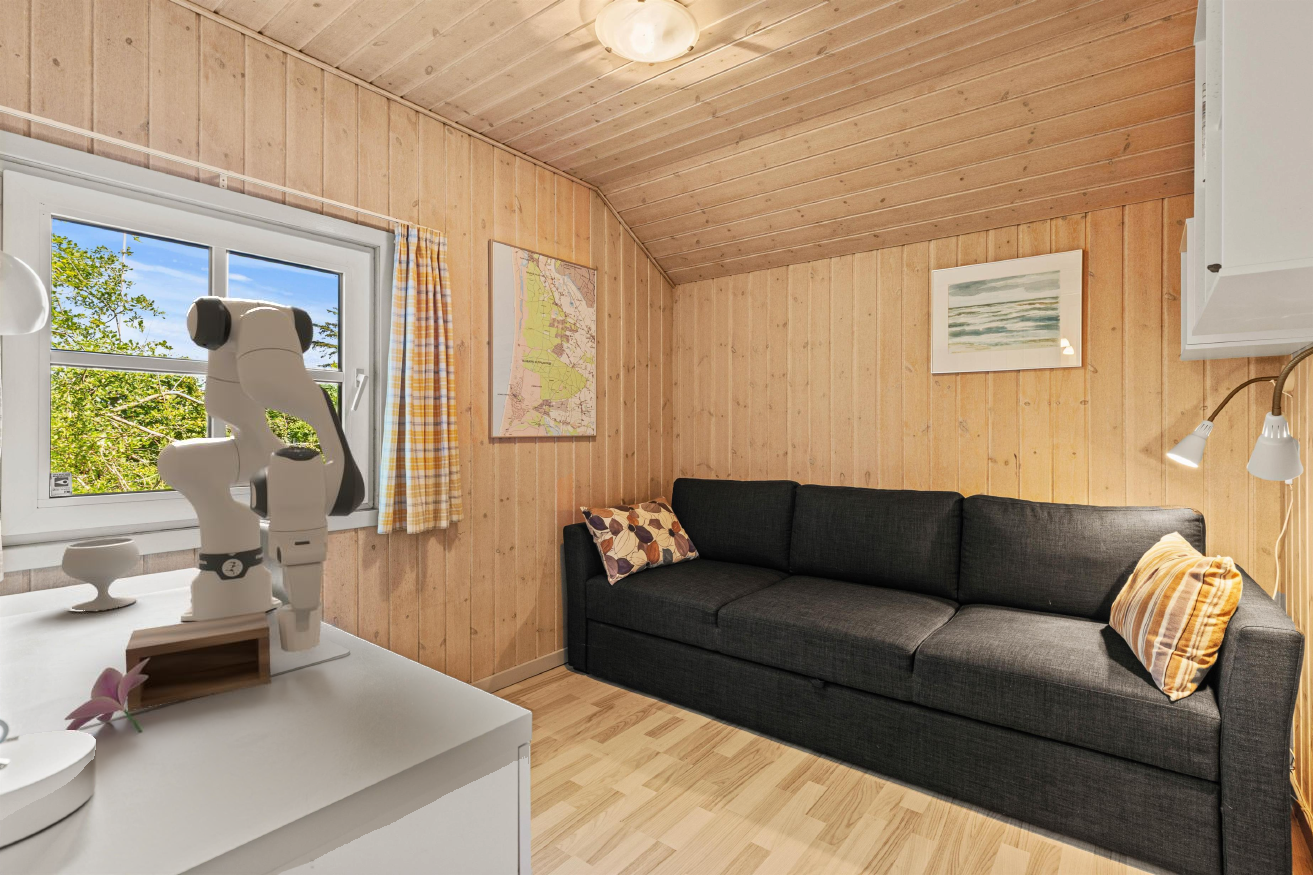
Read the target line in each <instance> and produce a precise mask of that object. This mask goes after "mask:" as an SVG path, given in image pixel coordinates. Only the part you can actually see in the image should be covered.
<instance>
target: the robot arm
mask: <svg viewBox="0 0 1313 875" xmlns="http://www.w3.org/2000/svg"><path fill="white" fill-rule="evenodd" d="M312 320H313V319H312V318H311V316H310V315H309V313H308V312H307V311H306V310H304V309H301V308H300V307H295V306H292V305H288V306H286V305H283V304H278V303H275V302H269V301H265V300H258V299H253V300H252V299H243V298H230V297H224V298H223V297H219V296H217V295H216V296H215V295H214V296H211V295H207V296H199V297H198V298H197V299H195V300H194V301H193V302H192V303H191V306H190V308H189V310H188V313H187V315H186V328H187V331H188V333H189V336H190V340H191V341H192V342H193V343H194V344H195V345H196V346H197V347H200V348H203V349H206V350H210V351H209V355H208V359H207V360H208V361H207V367H206V368H207V369H206V376H205V386H204V398H203V400H204V401H203V407H204V410H205V412H206V413H207V415H208V416H210V417H211V418H212V419H213V420H216V421H217V422H219V423H222V424H224V425H226V426H229V427H230V429H231V430H230V432H231V433H230V436H228V437H203V438H201V437H200V438H199V437H198V438H190V439H184V440H179V441H174V442H170V443H168V444H166V445H165V447H164V448H163V449H162V450H161V451H160V453H159V455H158V457H157V462H156V468H157V472H158V475H159V477H160V479H161V480H162V481H163V483H164V484H165V485H166V486H168V487H169V488H171V489H174V490H175V491H177V492H178V493H179V494H181V495H182V496H183V497H184V498H186V500H187V501H188V502H189V503H190V505H191V506H192V508H193V509H194V511H195V513H196V516H197V519H198V525H199V533H200V534H199V535H200V549H201V550H200V552H199V554H198V561H197V562H198V569H199V570H200V571H199V573H198V574H197V575H196V576H195V577H194V578H193V579H192V580H191V584H190V586H189V587H190V594H191V598H190V604H191V606H190V607H189V608H188V609H187V610H186V611H184V612H183V613H182V614H181V616H180V621H185V622H186V621H187V622H188V621H189V622H196V621H203V620H209V619H216V618H223V617H230V616H236V615H243V614H250V613H257V612H263V611H265V613H266V612H267V611H270V610H273V609H277V607H278V606H281V605H283V602H282V601H281V600H280V599H279V598H276V597H275V596H273V586H272V585H273V582H272V572H271V571H270V570H269V569H268V568H266V567H265V566H264V564H263V562H264V555H265V554H264V551H263V546H261V525H260V524H261V522H260V520H261V519H260V518H263V519H266V520H267V519H268V520H269V523H268V526H267V532H268V534H267V536H268V539H267V540H268V541H267V542H268V543H267V544H268V545H267V546H268V557H269V559H273V560H275V561H277V567H279V568H281V569H282V585H283V589H284V591H285V593H286V597H287V598H288V601H289V602H288V603H290V604H291V607H292V609H293V612H294V613H295V614H296V630H297V632H304V631H307V630H308V629H309V616H310V611H314V610H317V609H318V607H319V602H320V601H321V593H322V582H323V580H322V579H323V562H326V561H327V553H328V552H329V531H328V530H329V527H328V525H329V524H328V519H327V517H348V516H349V515H352V514H353V513H354V512H355V511H356V510H357V509H358V508H359V507H360V506H361V505H362V503H364V501H365V497H366V486H365V481H364V478H363V475H362V473H361V470H360V468H359V466H358V464H357V463H356V461H355V459H354V456H353V454H352V451H351V449H350V448H351V447H350V446H349V443H348V440H347V437H346V435H345V432H344V429H343V426H342V423H341V420H340V417H339V415H338V413H337V410H336V407H335V405H334V402H333V400H332V397H331V396H330V393H329V391H328V390H327V389H326V388H325V387H323V386H321V385H320V384H318V383H317V382H316V381H315V380H314V379H313V378H312V377H311V375H310V374H309V373H308V370H307V368H306V366H305V359H304V354H305V353H306V352H308V351H309V349H310V348H311V346H312V342H313V339H314V325H313V321H312ZM266 409H267V410H271V411H275V412H277V413H281V414H283V415H284V414H285V415H287V416H290V417H294V418H296V419H298V420H300V421H302V422H305V423H306V424H308V426H310V427H311V428H312V429H313V430H314V432H315V435H316V438H317V440H318V443H319V446H320V449H321V451H319V450H316V449H314V448H312V447H311V448H310V447H309V448H308V447H304V446H303V447H302V446H301V447H300V446H293V447H291V446H289V445H288V444H287V443H286V442H285V441H283V440H282V439H280V438H279V436H277V435H276V434H275V433H274V432H273V430H272V429H271V426H270V424H269V423H268V420H267V419H268V418H267V415H266ZM321 452H322V453H321ZM322 454H323V455H322ZM323 457H324V459H323ZM324 460H325V463H324ZM246 486H247V487H248V486H249V487H250V488H249V489H250V490H249V491H250V503H249V504H250V505H248V504H245V503H242V502H240V501H237V500H234V498H233V496H232V494H231V488H233V487H234V488H235V487H246Z"/></svg>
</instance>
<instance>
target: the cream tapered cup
mask: <svg viewBox="0 0 1313 875" xmlns="http://www.w3.org/2000/svg"><path fill="white" fill-rule="evenodd" d="M322 612H323V601H321V600H320V602H319V607H318V609H317V610H314V611H310V616H309V629H308V630H307V631H304V632H297V630H296V614H295V613H294V612H293V609H292V607H291V604H290V602H286V603H282V605H281V606H278V607H277V608H276V615H277V623H278V624H277V625H278V630H279V638H280V646H281V648H280V649H281V650H282V651H283V652H289V653H290V652H292V653H296V652H303V651H307V650H312V649H313V648H316V647H317V646H319V644H320V639H321V638H320V637H321V626H322V614H323V613H322Z"/></svg>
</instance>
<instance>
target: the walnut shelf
mask: <svg viewBox="0 0 1313 875" xmlns="http://www.w3.org/2000/svg"><path fill="white" fill-rule="evenodd" d="M268 621H269V620H268V617H267V614H266V612H265V611H263V612H257V613H250V614H243V615H236V616H230V617H223V618H216V619H209V620H203V621H189V622H183V623H177V624H176V623H175V624H170V625H163V626H157V627H156V626H155V627H151V628H149V627H148V628H143V629H136V630H135V629H134V630H133V631H132V633H131V636H130V638H129V641H128V643H127V646H126V649H125V667H126V668H125V670H126V672H125V675H126V674H127V673H128V672H129V671H130V670H132V669H133V668H134V667H136V666H137V665H138V664H140V663H141V662H143V661H144V660H146V659H148V658H150V659H149V660H148V661H147V663H146V664H145V665H144V666H143V668H142V669H141V670H140V672H139V673H138V674H137V675H147V676H148V678H147V679H146V680H145V681H143V682H142V683H140V684H139V685H137V686H136V687H134V688H133V689H131V690H130V691H128V694H127V698H126V701H127V704H126V705H127V712H130V710H132V711H135V710H134V709H137V710H139V709H140V708H142V709H146V708H145V707H147V708H150V707H149V706H152V707H156V706H155V705H157V706H161V705H160V704H162V705H166V704H165V703H167V704H170V703H169V702H172V703H175V702H174V701H177V702H180V700H182V701H185V700H191V699H195V698H201V697H206V696H210V695H217V694H221V693H226V692H230V691H235V690H240V689H241V690H242V689H245V688H251V687H256V686H260V685H265V684H271V683H272V679H271V678H272V677H271V675H272V674H271V673H272V672H271V671H272V670H271V643H270V641H271V639H270V638H271V637H270V635H271V634H270V625H269V624H270V623H269V622H268ZM140 710H141V709H140Z"/></svg>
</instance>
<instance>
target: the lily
mask: <svg viewBox="0 0 1313 875" xmlns="http://www.w3.org/2000/svg"><path fill="white" fill-rule="evenodd" d="M149 659H150V658H148V659H146V660H144V661H143V662H141V663H140V664H138V665H137V666H136V667H134V668H133V669H132V670H130V671H129V672H128V673H127V674H126V673H125V675H123V673H121V672H120V671H119V670H117V669H116V668H113V667H106V668H105V669H104V670H103V671H102V672H101V673H100V675H98V678H97V679H96V681H95V683H94V685H93V686H92V689H91V692H90V698H91V699H90V700H87V702H84V703H83V704H81V705H80V706H78V707H76V708H75V709H74V710H73V711H72V712H71V713H69V714H68V715H67V716H65V718H64V720H65V721H68V720H72V721H71V722H70V724H69V725H68V726H67V727H66V728H65V730H76V731H78V730H79V729H80V728H81V727H83V726H84V725H86V724H87V723H88V722H90V721H92V720H94V719H95V718H96V720H97V721H100V722H101V723H105V724H107V723H109V722H110V721H111V720H112V718H113V716H114V714H115V713H116V712H119V711H121V712H123V713H124V714H125V715H126V716H127V718H129V720H130V721H131V722H132V724H133V725H134V727H135V728H136V730H137V732H138V733H142V732H143V730H142V729H141V728H140V726H139V724H138V723H137V722H136V721H135V719H134V718H133V716H132V715H131V714H130V712H129V711H128V709H126V708H125V705H126V701H127V694H128V691H130V690H131V689H133V688H134V687H136V686H137V685H139V684H140V683H142V682H143V681H145V680H146V679H147V678H148V676H147V675H137V674H138V673H139V672H140V670H141V669H142V668H143V666H144V665H145V664H146V663H147V661H148V660H149ZM108 721H109V722H108Z"/></svg>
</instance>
